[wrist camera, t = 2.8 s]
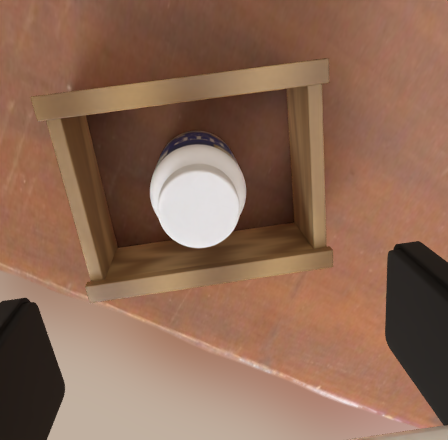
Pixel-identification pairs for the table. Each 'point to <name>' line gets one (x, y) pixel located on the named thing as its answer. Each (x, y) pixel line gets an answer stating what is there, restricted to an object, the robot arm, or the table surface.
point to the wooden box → (171, 250)
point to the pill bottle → (197, 189)
